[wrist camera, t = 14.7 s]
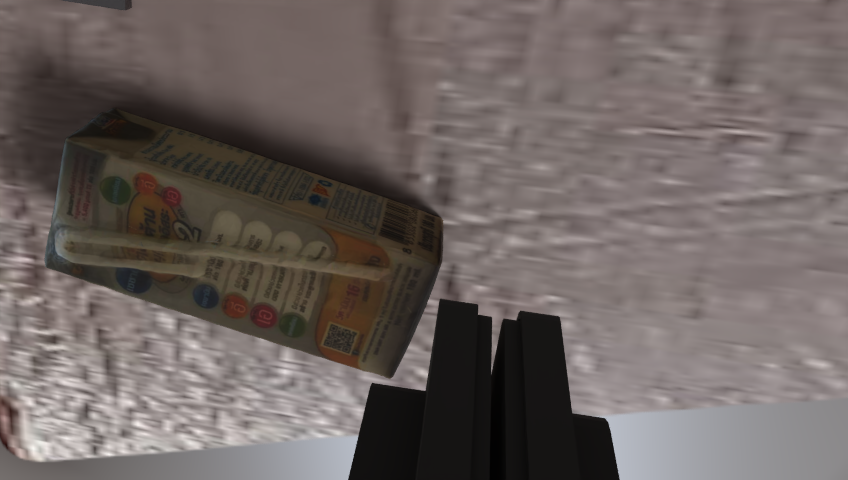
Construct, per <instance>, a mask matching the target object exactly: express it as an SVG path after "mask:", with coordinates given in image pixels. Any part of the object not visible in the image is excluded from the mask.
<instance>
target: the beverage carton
mask: <svg viewBox="0 0 848 480" xmlns="http://www.w3.org/2000/svg"><path fill="white" fill-rule="evenodd" d="M442 254H443V220H442V218H440V217H437V216H434V215H431V214H428V213H426V212H424V211H421V210H419V209H416V208H413V207H410V206H407V205H405V204H402V203H399V202H396V201H394V200H391V199H388V198H385V197H382V196H379V195H376V194H373V193H370V192H368V191H365V190H362V189H359V188H356V187H353V186H350V185H347V184H344V183H341V182H338V181H335V180H331V179H328V178H326V177H323V176H320V175H317V174H314V173H311V172H308V171H305V170H303V169H300V168H296V167H293V166H290V165H287V164H284V163H281V162H277V161H274V160H272V159H269V158H266V157H263V156H260V155H257V154H254V153H251V152H248V151H245V150H242V149H239V148H236V147H234V146H231V145H228V144H225V143H222V142H219V141H216V140H213V139H210V138H207V137H204V136H201V135H198V134H195V133H191V132H188V131H185V130H182V129H179V128H175V127H172V126H168V125H165V124H161V123H158V122H154V121H152V120H149V119H146V118H143V117H140V116H136V115H133V114H130V113H127V112H124V111H122V110H119V109H117V108H112V109H111V110H109V111H107V112H103V113H100V114H99V115H98V116H97V117H96V118H94V119H92V120H91V121H90V122H89V123H88V124H87V125H86V126H84V127H83V128H81V129H80V130H78V131H76V132H74V133H73V134H72V135H70V136H69V137H67V138H66V140H65V144H64V149H63V154H62V160H61V167H60V173H59V179H58V188H57V194H56V200H55V206H54V211H53V215H52V221H51V227H50V231H49V235H48V241H47V246H46V252H45V267H47V268H49V269H52V270H56V271H59V272H62V273H65V274H68V275H71V276H74V277H76V278H79V279H82V280H85V281H87V282H90V283H93V284H97V285H100V286H104V287H107V288H109V289H112V290H115V291H117V292H120V293H123V294H126V295H129V296H132V297H135V298H139V299H142V300H145V301H148V302H151V303H154V304H157V305H160V306H163V307H165V308H168V309H172V310H175V311H178V312H181V313H184V314H188V315H191V316H194V317H197V318H200V319H203V320H206V321H209V322H212V323H214V324H217V325H221V326H224V327H227V328H230V329H233V330H236V331H239V332H242V333H245V334H248V335H252V336H255V337H258V338H262V339H265V340H268V341H271V342H274V343H276V344H280V345H283V346H286V347H289V348H293V349H296V350H300V351H303V352H306V353H309V354H312V355H315V356H318V357H322V358H325V359H328V360H331V361H334V362H337V363H341V364H344V365H347V366H350V367H354V368H357V369H360V370H362V371H366V372H372V373H375V374H378V375H381V376H384V377H386V378H389V379H390V378H392V377H393V376H394V374H395V372H396V370H397V368H398V366H399V364H400V362H401V360H402V358H403V356H404V354H405V352H406V350H407V348H408V346H409V344H410V342H411V339H412V337H413V335H414V332H415V330H416V328H417V325H418V323H419V321H420V319H421V316H422V314H423V312H424V309H425V307H426V304H427V302H428V299H429V297H430V294H431V292H432V289H433V286H434V284H435V281H436V278H437V275H438V272H439V269H440V266H441V263H442Z"/></svg>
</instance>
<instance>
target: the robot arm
mask: <svg viewBox="0 0 848 480" xmlns="http://www.w3.org/2000/svg"><path fill="white" fill-rule="evenodd" d="M491 352H492V317H489V316H483V315H478V304H472V303H465V302H458V301H452V300H445V299H440V301H439V308H438V314H437V321H436V327H435V334H434V340H433V347H432V353H431V360H430V366H429V373H428V379H427V386H426V391H421V390H415V389H408V388H402V387H395V386H388V385H382V384H375V383H372V384H371V386H370V390H369V394H368V398H367V403H366V407H365V411H364V415H363V419H362V424H361V428H360V432H359V436H358V441H357V445H356V449H355V454H354V458H353V462H352V466H351V470H350V475H349V479H348V480H620V479H619V474H618V469H617V464H616V458H615V453H614V447H613V442H612V437H611V431H610V428H609V424H608V422H607V421H606V419H605V418H599V417H593V416H586V415H580V414H573V413H572V408H571V401H570V393H569V385H568V377H567V369H566V361H565V353H564V345H563V337H562V329H561V321H560V317H558V316H552V315H546V314H539V313H532V312H525V311H520V312H519V314H518V317H517V321H516V320H509V319H503V322H502V325H501V330H500V335H499V340H498V345H497V350H496V355H495V360H494V364H493V369H492V374H491Z"/></svg>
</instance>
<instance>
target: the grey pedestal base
mask: <svg viewBox="0 0 848 480" xmlns="http://www.w3.org/2000/svg"><path fill="white" fill-rule="evenodd" d="M63 1H69V2H75V3H82V4H88V5H94V6H100V7H107V8H113V9H119V10H127V9H130V8H132V3H131V0H63Z"/></svg>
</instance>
